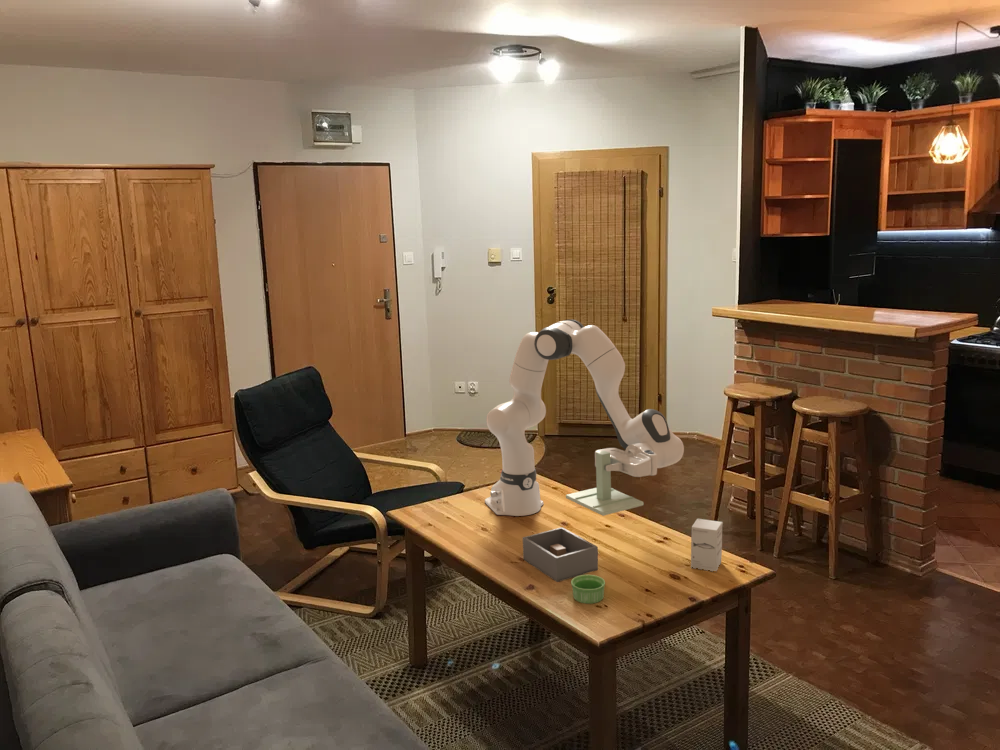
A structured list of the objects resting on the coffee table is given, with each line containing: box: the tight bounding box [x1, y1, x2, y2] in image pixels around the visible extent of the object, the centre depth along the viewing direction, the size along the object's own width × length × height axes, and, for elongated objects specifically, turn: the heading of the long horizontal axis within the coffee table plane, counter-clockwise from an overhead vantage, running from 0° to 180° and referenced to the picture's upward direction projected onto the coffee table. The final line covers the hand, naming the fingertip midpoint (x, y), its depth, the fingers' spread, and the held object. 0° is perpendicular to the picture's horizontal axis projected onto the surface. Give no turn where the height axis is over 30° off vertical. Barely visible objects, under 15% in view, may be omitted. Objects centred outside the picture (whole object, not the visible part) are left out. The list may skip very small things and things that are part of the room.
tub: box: [522, 526, 599, 583], centre depth 230 cm, size 18×14×7 cm
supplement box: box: [690, 518, 723, 572], centre depth 225 cm, size 7×7×13 cm
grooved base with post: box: [565, 451, 644, 517], centre depth 234 cm, size 19×15×15 cm
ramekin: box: [570, 574, 606, 605], centre depth 210 cm, size 9×9×4 cm
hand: (600, 466), depth 233 cm, fingers closed on grooved base with post, 3 cm apart
